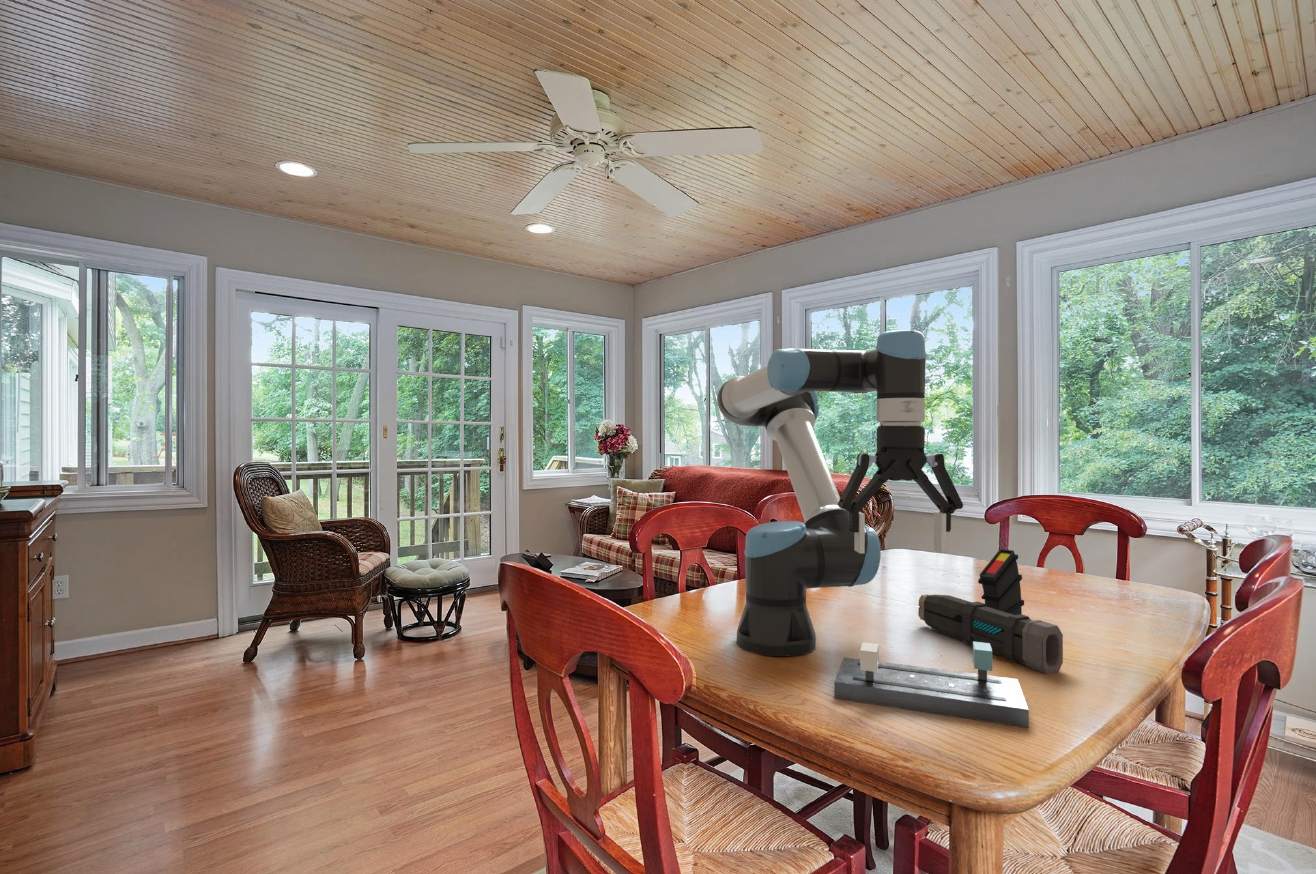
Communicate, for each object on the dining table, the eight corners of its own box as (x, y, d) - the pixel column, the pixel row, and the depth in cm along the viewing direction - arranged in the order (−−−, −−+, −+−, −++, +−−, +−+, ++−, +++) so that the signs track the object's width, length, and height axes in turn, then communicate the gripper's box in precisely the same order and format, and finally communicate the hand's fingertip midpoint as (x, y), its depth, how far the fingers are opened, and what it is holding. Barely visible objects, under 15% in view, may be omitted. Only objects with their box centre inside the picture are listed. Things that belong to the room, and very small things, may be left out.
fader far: (974, 682, 96) (974, 649, 96) (972, 673, 100) (972, 641, 100) (992, 684, 95) (992, 651, 95) (990, 675, 99) (989, 643, 99)
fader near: (860, 683, 96) (860, 650, 96) (862, 674, 99) (862, 642, 100) (876, 685, 95) (876, 652, 95) (878, 676, 99) (878, 644, 99)
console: (834, 698, 97) (834, 681, 97) (844, 671, 108) (843, 656, 108) (1028, 727, 87) (1028, 709, 87) (1017, 695, 98) (1017, 678, 98)
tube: (942, 637, 135) (1076, 666, 107) (918, 648, 133) (1050, 682, 105) (927, 588, 136) (1058, 604, 108) (904, 598, 133) (1031, 618, 105)
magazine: (1030, 606, 142) (1016, 550, 138) (1005, 642, 135) (990, 583, 131) (1012, 603, 145) (999, 547, 141) (988, 638, 138) (972, 580, 134)
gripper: (833, 424, 101) (832, 556, 101) (986, 424, 101) (985, 555, 102) (819, 424, 108) (819, 547, 109) (962, 424, 109) (961, 546, 109)
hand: (899, 551), depth 105 cm, fingers open, 13 cm apart
